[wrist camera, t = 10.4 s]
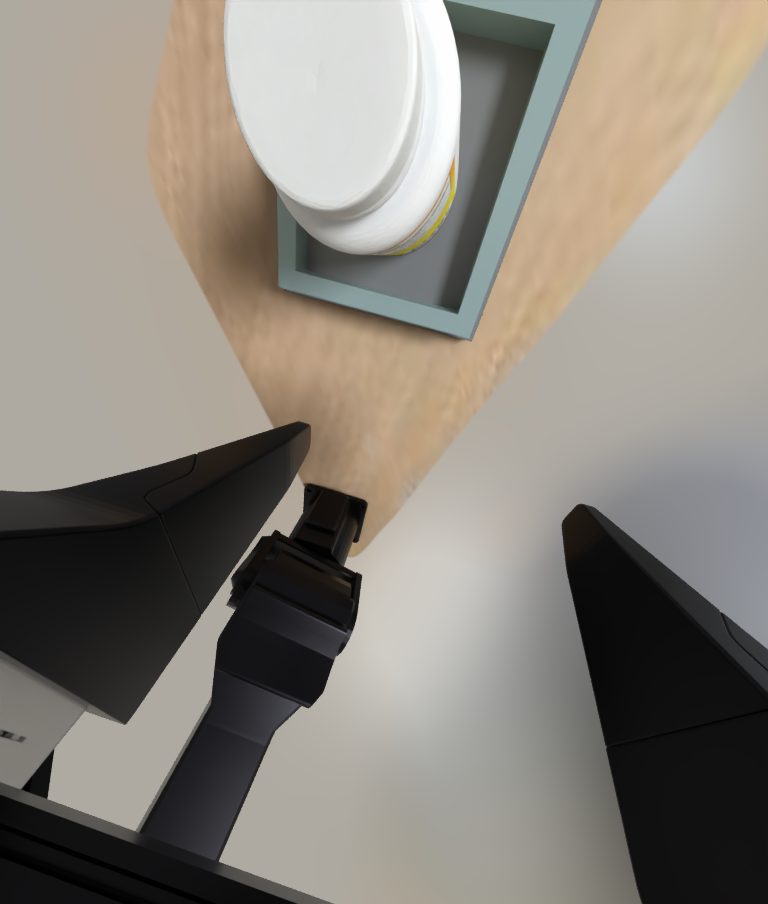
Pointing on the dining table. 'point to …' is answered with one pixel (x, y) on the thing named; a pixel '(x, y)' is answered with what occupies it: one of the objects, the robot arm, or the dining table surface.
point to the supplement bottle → (350, 114)
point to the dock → (463, 172)
